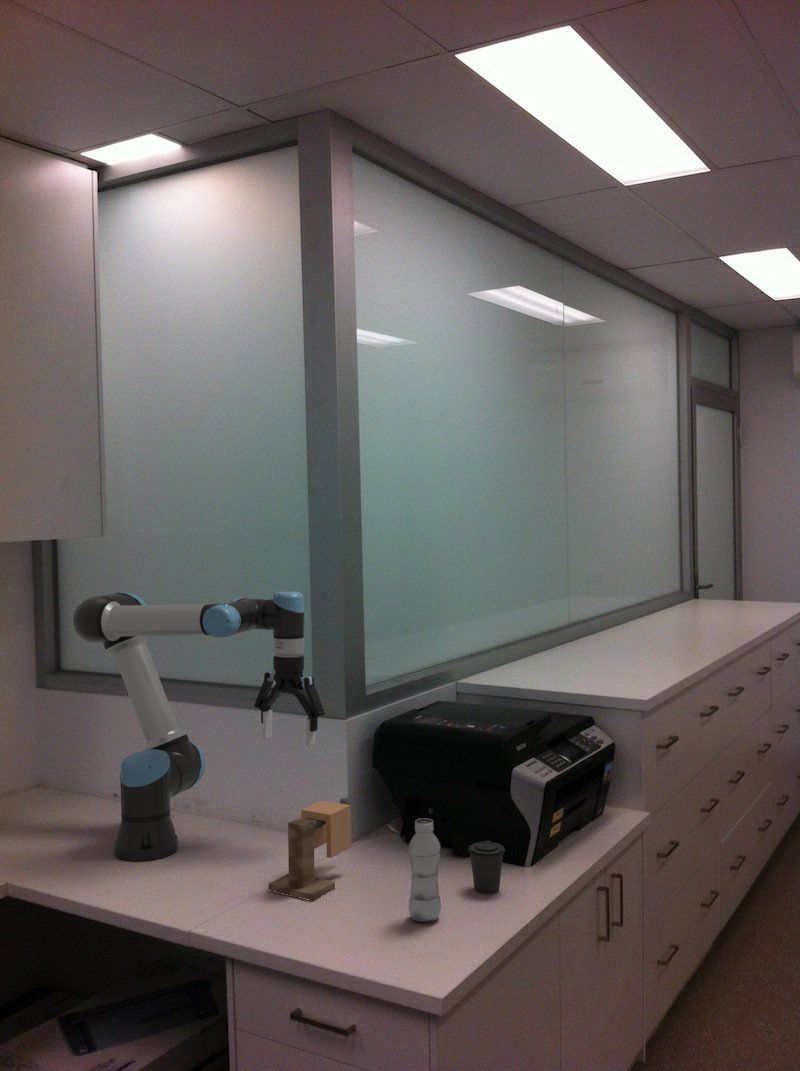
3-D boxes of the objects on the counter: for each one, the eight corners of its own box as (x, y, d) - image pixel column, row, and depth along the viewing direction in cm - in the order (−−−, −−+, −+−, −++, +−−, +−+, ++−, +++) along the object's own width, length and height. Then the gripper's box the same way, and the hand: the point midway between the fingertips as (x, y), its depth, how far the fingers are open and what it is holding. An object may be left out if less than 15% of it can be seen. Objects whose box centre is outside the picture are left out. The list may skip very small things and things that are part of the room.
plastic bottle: (401, 919, 201) (400, 821, 200) (425, 909, 206) (424, 814, 205) (424, 929, 196) (423, 828, 196) (448, 918, 201) (447, 820, 200)
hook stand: (268, 890, 217) (267, 820, 216) (327, 859, 236) (327, 794, 235) (313, 901, 210) (312, 829, 210) (370, 868, 229) (369, 801, 229)
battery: (479, 848, 242) (479, 807, 242) (469, 857, 236) (469, 815, 236) (462, 846, 244) (462, 805, 244) (452, 855, 238) (452, 813, 237)
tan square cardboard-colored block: (302, 852, 224) (301, 809, 223) (322, 841, 230) (322, 800, 230) (331, 858, 219) (330, 814, 219) (351, 847, 226) (350, 805, 226)
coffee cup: (495, 880, 221) (494, 836, 221) (512, 893, 214) (511, 847, 213) (462, 886, 218) (461, 841, 218) (478, 899, 211) (477, 852, 210)
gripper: (240, 652, 247) (240, 737, 248) (319, 661, 234) (319, 750, 235) (260, 648, 254) (260, 731, 254) (338, 657, 240) (338, 744, 241)
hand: (288, 740), depth 244 cm, fingers open, 13 cm apart
